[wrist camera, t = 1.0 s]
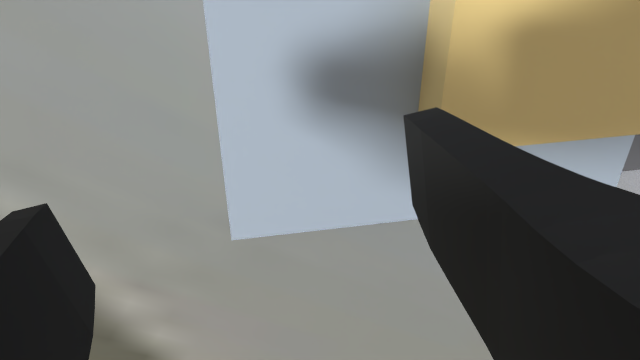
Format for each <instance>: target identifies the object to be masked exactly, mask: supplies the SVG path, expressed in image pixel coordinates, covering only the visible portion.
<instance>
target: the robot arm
mask: <svg viewBox="0 0 640 360" xmlns="http://www.w3.org/2000/svg"><path fill="white" fill-rule="evenodd" d="M403 118H404V128H405V138H406V147H407V157H408V167H409V177H410V187H411V197H412V205H413V208H414V210H415V213H416V215H417V218H418V220H419V223H420V225H421V228H422V230H423V232H424V235H425V237H426V239H427V242H428V244H429V246H430V249H431V251H432V252H433V254H434V256H435V258H436V260H437V261H438V263H439V265H440V267H441V268H442V270H443V272H444V273H445V275H446V277H447V279H448V280H449V282H450V284H451V286H452V287H453V289H454V291H455V293H456V294H457V296H458V298H459V299H460V301H461V303H462V305H463V306H464V308H465V310H466V311H467V313H468V315H469V317H470V318H471V320H472V322H473V323H474V325H475V327H476V329H477V330H478V332H479V334H480V336H481V337H482V339H483V341H484V342H485V344H486V346H487V348H488V350H489V351H490V353H491V355H492V357H493V359H494V360H640V195H638V194H635V193H632V192H629V191H626V190H623V189H620V188H617V187H614V186H611V185H608V184H605V183H602V182H599V181H596V180H593V179H591V178H588V177H585V176H583V175H580V174H578V173H575V172H573V171H570V170H568V169H565V168H563V167H561V166H558V165H556V164H553V163H551V162H548V161H546V160H544V159H542V158H539V157H537V156H535V155H533V154H530V153H528V152H526V151H524V150H522V149H520V148H517V147H515V146H513V145H511V144H509V143H507V142H505V141H503V140H501V139H499V138H497V137H495V136H493V135H491V134H489V133H487V132H485V131H483V130H481V129H479V128H477V127H475V126H473V125H472V124H470V123H468V122H466V121H464V120H462V119H460V118H458V117H456V116H454V115H452V114H450V113H448V112H446V111H444V110H442V109H439V108H437V107H435V108H431V109H427V110H423V111H419V112H415V113H411V114H407V115H403ZM94 312H95V284H94V282H93V280H92V279H91V277H90V275H89V274H88V272H87V270H86V269H85V267H84V265H83V264H82V262H81V260H80V258H79V257H78V255H77V253H76V252H75V250H74V248H73V247H72V245H71V243H70V242H69V240H68V238H67V237H66V235H65V233H64V232H63V230H62V228H61V226H60V225H59V223H58V221H57V220H56V218H55V216H54V215H53V213H52V211H51V210H50V208H49V206H48V205H47V203H46V204H42V205H38V206H34V207H30V208H26V209H22V210H17V211H13V212H11V213H10V214H9V215H7V216H6V217H5V218H3V219H2V220H1V221H0V360H88V359H89V354H90V349H91V343H92V338H93V327H94Z"/></svg>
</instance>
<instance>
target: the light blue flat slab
mask: <svg viewBox="0 0 640 360" xmlns="http://www.w3.org/2000/svg"><path fill="white" fill-rule="evenodd" d="M203 4H204V12H205V21H206V29H207V38H208V46H209V55H210V63H211V71H212V80H213V88H214V97H215V105H216V113H217V122H218V130H219V139H220V147H221V156H222V164H223V172H224V181H225V189H226V198H227V206H228V214H229V223H230V231H231V240H238V239H247V238H256V237H264V236H273V235H282V234H291V233H299V232H308V231H317V230H326V229H335V228H343V227H352V226H361V225H370V224H378V223H387V222H396V221H405V220H414V219H418V218H417V215H416V213H415V210H414V208H413V205H412V197H411V187H410V177H409V167H408V157H407V147H406V138H405V128H404V118H403V115H407V114H411V113H415V112H418V108H419V99H420V90H421V81H422V71H423V62H424V53H425V44H426V35H427V26H428V16H429V7H430V0H203ZM634 137H635V135H627V136H617V137H607V138H596V139H586V140H576V141H565V142H555V143H545V144H535V145H524V146H515V147H517V148H520V149H522V150H524V151H526V152H528V153H530V154H533V155H535V156H537V157H539V158H542V159H544V160H546V161H548V162H551V163H553V164H556V165H558V166H561V167H563V168H565V169H568V170H570V171H573V172H575V173H578V174H580V175H583V176H585V177H588V178H591V179H593V180H596V181H599V182H602V183H605V184H608V185H611V186H614V187H616V186H617V184H618V181H619V178H620V175H621V173H622V170H623V167H624V164H625V162H626V159H627V156H628V153H629V151H630V148H631V145H632V142H633V140H634Z"/></svg>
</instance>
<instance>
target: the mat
mask: <svg viewBox="0 0 640 360" xmlns="http://www.w3.org/2000/svg"><path fill="white" fill-rule="evenodd" d="M639 169H640V134H638V135H635V137H634V140H633V142H632V145H631V148H630V151H629V153H628V156H627V159H626V162H625V164H624V167H623V170H622V171H629V170H639Z"/></svg>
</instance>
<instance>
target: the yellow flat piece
mask: <svg viewBox="0 0 640 360" xmlns="http://www.w3.org/2000/svg"><path fill="white" fill-rule="evenodd" d="M435 107H437V108H439V109H442V110H444V111H446V112H448V113H450V114H452V115H454V116H456V117H458V118H460V119H462V120H464V121H466V122H468V123H470V124H472V125H473V126H475V127H477V128H479V129H481V130H483V131H485V132H487V133H489V134H491V135H493V136H495V137H497V138H499V139H501V140H503V141H505V142H507V143H509V144H511V145H513V146H524V145H535V144H545V143H555V142H565V141H576V140H586V139H596V138H607V137H617V136H627V135H638V134H640V0H430V7H429V16H428V26H427V35H426V44H425V53H424V62H423V71H422V81H421V90H420V99H419V108H418V112H419V111H423V110H427V109H431V108H435Z"/></svg>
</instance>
